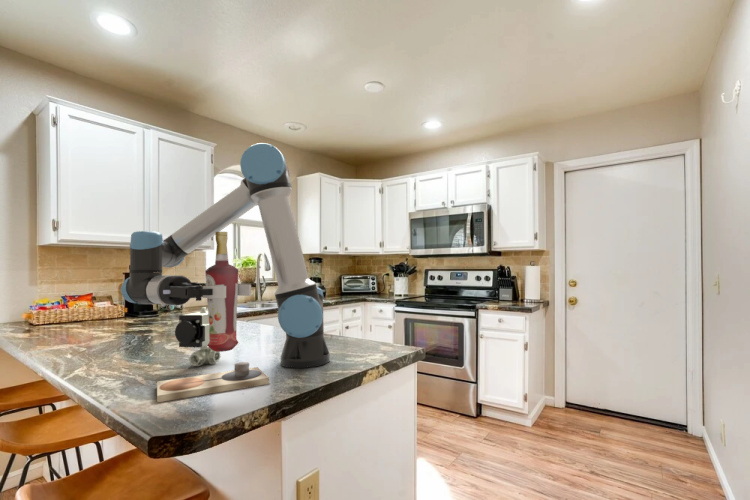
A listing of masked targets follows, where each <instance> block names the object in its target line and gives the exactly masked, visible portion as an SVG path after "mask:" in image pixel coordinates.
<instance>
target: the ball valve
mask: <svg viewBox="0 0 750 500" xmlns="http://www.w3.org/2000/svg"><path fill="white" fill-rule="evenodd" d="M200 309H201V311H196V312H192V313H185V314H180V315H179V316H178V324H177V325H176V326H175V330H174V335H175V338H176V340H177V341H178V346H179V348H200V349H199V350H195V351H193V352H192V353H191V354H190V356H189V358H188V361H189V363H190V364H191V366H195V367H200V366H202V365H214V364H216V363H218V362H219V361H220V360H221V352H215V351H213V350H212V349H211V348H209V347H208V346H207V345H208V343H209V342H210V339H209V317H208V309H207V306H203V307H201V308H200Z"/></svg>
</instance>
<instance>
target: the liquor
mask: <svg viewBox="0 0 750 500" xmlns="http://www.w3.org/2000/svg"><path fill="white" fill-rule="evenodd" d="M214 236H215V242H216V243H215V244H216V250H215V251H216V252H215V262H214V264H213V265H211V266H209V267H208V268H207V269H206V270H205V283H206V286H226V298H206V300H207V302H206V303H207V310H208V317H209V339H210V342H209V343H208V345H207V347H209V348H211V349H212V350H213V351H215V352H220V353H222V352H223V353H224V352H229V351H231V350H234V349H235V347H236V346H238V344H239V341H238V339H237V322H238V320H237V319H238V318H237V317H238V316H237V315H238V297H239V296H238V284H239V269H238V268H237V267H235V266H234V265H232V264H229V254H228V247H227V246H228V245H227V244H228V238H229V237H228V231H220V232H215V235H214Z"/></svg>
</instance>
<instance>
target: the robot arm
mask: <svg viewBox="0 0 750 500" xmlns="http://www.w3.org/2000/svg"><path fill="white" fill-rule="evenodd" d="M239 165H240V171H241V173H242V175H243V177H244V178H243V179H241V180H240V185H239V186H237V188H235V189H233V190H231V191H230V192H228V194H227V195H225V196H224V197H222V198H221V199H219V200H218V201H217V202H215V203H213V204H212V205H211V206H210V207H208V208H207V209H205V210H204V211H202V212H201V213H199V214H198V215H197V216H195V217H194V218H193V219H192V220H190V221H188V222H187V223H186V224H185V225H183V226H181V227H180V228H179V229H177V230H176V231H174V232H173V233H172V234H170V235H169V236H167V237H166V238H164V239H163V234H162V233H161V232H158V231H153V230H152V231H148V230H145V231H140V230H139V231H138V230H137V231H134V232H132V233H131V236H130V243H129V251H130V252H129V253H130V254H129V260H130V261H129V262H130V264H129V267H130V268H129V269H130V270H129V277H128V278H126V279H125V280H124V281H123V283H122V285H121V287H120V293H121V296H122V298H123V299H124V300H125V301H127V302H129V303H132V304H137V305H160V306H161V308H165V307H166V305H167V306H168V305H170V306H183V305H184V304H186V303H188V302H189V300H190V299H195V301H196V302H197V301H198V302H200V301H202V299H203V298H204V299H207V298H226V286H206V282H204V283H203V282H202V283H201V282H200V283H199V282H197V281H196V282H194V281H193V282H191V280H190V279H189V278H188V277H187V276H185V275H171V274H169V275H166V274H165V275H163V268H174V267H177V266H179V265H181V264H182V262H184V260H185V257H187V256H188V255H190V253H192V252H193V251H194V250H196V249H198V248H199V247H200V246H201V245H203V244H204V243H206V242H207V241H209V240H210V239H211V238H213V237H214V236H215V232H222V231H223V230H224V229H225V228H227V227H228V226H229V225H231V224H233V222H235V221H237V219H239V218H241V217H242V216H243V215H245V214H246V213H247V212H249V211H250V210H252V209H253V208H254V207H256V206H258V208H259V213H260V217H261V221H262V225H263V229H264V232H265V237H266V242H267V246H268V250H269V253H270V257H271V262H272V265H273V269H274V273H275V274H274V275H275V278H276V281H277V288H276V291H275V292H274V296H275V301H276V305H277V309H278V311H277V312H278V313H277V316H278V317H277V319H278V323H279V326H280V328H281V329H282V331H283V332H284V333H285V342H284V344H283V348H282V351H281V354H280V365H281V366H283V367H284V368H285V367H286V368H294V369H301V368H302V369H304V368H305V369H307V368H314V367H315V368H316V367H319V366H323V365H326V364H328V363H330V359H331V358H330V356H331V355H330V350H329V348H328V345H327V342H326V340H325V335H324V329H325V328H324V325H325V324H324V297H325V296H324V292H323V289H322V288H320V287H317V284H316V282H315V281H314V280H311V279H310V277H309V273H308V269H307V266H306V261H305V259H304V253H303V250H302V245H301V242H300V238H299V234H298V230H297V226H296V223H295V222H296V221H295V218H294V215H293V214H294V213H293V209H292V206H291V201H290V198H289V197H290V195H291V193H292V192H293V188H292V183H291V179H290V171H289V168H288V165H287V163H286V158H285V156H284V154H283V153H282V152H281V151H280V150H279V149H278V147H276V146H275V145H273V144H270V143H265V142H259V143H254V144H252V145H250V146H249V147H247V148H246V149H245V150H244V152H243V153H242V155H241V157H240V164H239ZM239 296H242V297H243V296H248V297H249V296H252V284H243V283H241V284H239V283H238V296H237V297H239Z"/></svg>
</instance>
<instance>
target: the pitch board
mask: <svg viewBox="0 0 750 500" xmlns="http://www.w3.org/2000/svg"><path fill="white" fill-rule="evenodd" d="M156 384H157V385H156V396H157V397H156V402H157V403H162V402H167V401H169V402H170V401H172V400H173V401H174V400H179V399H180V400H181V399H185V398H191V397H198V396H203V395H208V394H209V395H210V394H215V393H222V392H227V391H232V390H239V389H245V388H251V387H256V386H264V385H268V384H270V377H269V376H268V375H267V374H266V373H265V372H264V371H262V369H261V368H259V366H255V367H250V363H249V362H246V361H240V362H236V363H235V364H234V370H229V371H228V370H227V371H221V372H214V373H208V374H207V373H206V374H200V375H193V376H187V377H180V378H172V379H166V380H160V381H158V380H157V382H156Z"/></svg>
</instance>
